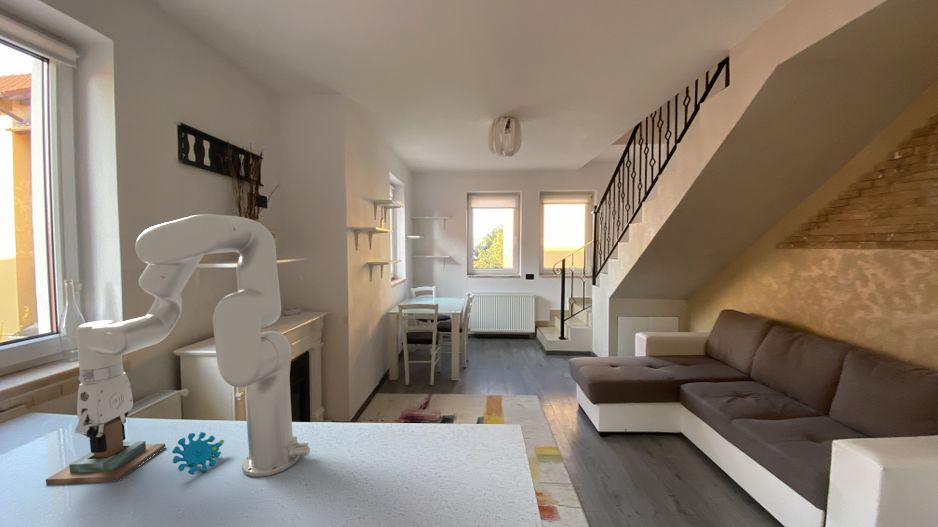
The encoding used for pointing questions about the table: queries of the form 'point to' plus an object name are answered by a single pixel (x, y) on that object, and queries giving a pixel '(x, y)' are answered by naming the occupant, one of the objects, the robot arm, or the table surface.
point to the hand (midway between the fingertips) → (108, 445)
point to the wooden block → (112, 438)
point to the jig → (106, 465)
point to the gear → (197, 452)
